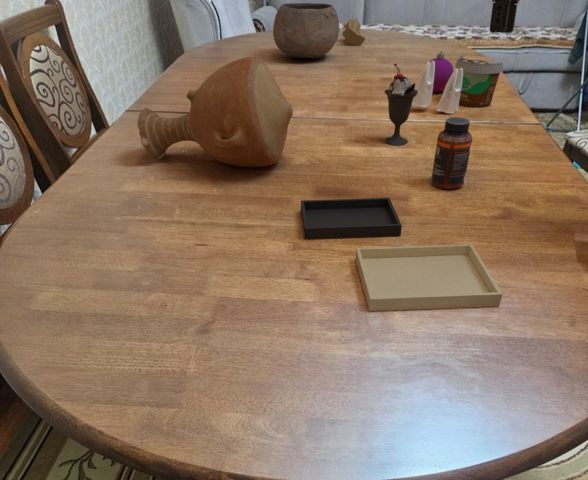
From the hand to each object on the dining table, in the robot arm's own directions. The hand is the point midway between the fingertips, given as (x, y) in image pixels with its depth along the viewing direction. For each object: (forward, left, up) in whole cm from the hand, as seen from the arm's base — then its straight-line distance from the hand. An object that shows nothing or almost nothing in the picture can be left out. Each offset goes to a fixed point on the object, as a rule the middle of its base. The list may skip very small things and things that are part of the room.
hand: (501, 32), depth 83 cm
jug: (+46, -17, -25) cm, 55 cm away
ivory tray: (+16, +30, -25) cm, 42 cm away
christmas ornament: (-9, -62, -25) cm, 67 cm away
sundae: (+9, -25, -25) cm, 36 cm away
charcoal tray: (+24, +12, -25) cm, 36 cm away
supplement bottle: (+4, -2, -25) cm, 25 cm away
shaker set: (-4, -45, -25) cm, 52 cm away
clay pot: (+23, -104, -25) cm, 109 cm away
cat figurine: (+5, -125, -25) cm, 128 cm away
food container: (-14, -50, -25) cm, 58 cm away
